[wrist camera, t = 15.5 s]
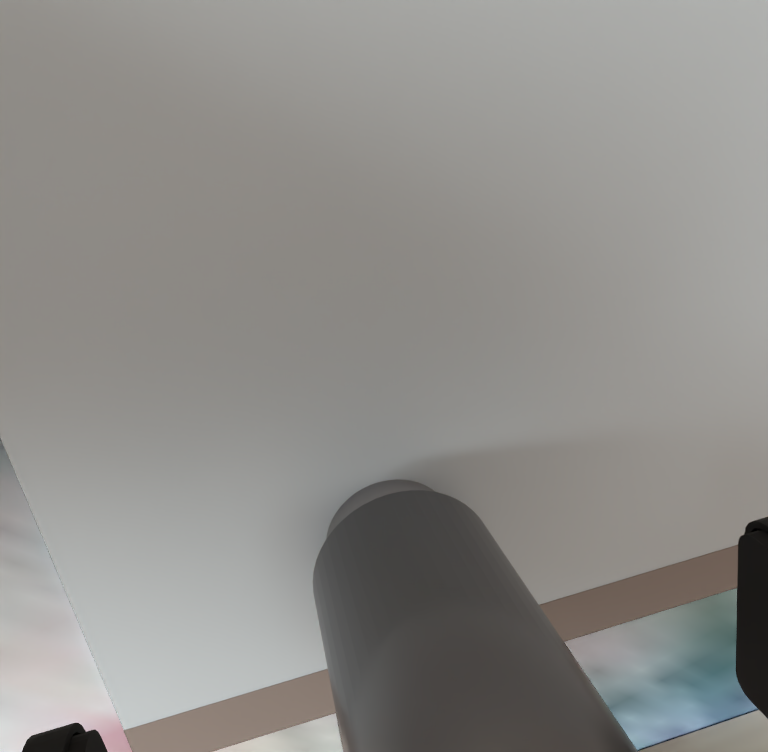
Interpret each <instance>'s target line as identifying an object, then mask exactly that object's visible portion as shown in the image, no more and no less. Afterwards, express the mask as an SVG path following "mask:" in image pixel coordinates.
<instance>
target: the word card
mask: <svg viewBox="0 0 768 752" xmlns="http://www.w3.org/2000/svg"><path fill="white" fill-rule="evenodd" d="M638 752H768V719H767V718H766V717H765V715H764V714H763V713H762V712H761V711H760V710H757V711H754V712H751V713H748V714H745V715H742V716H739V717H737V718H734V719H731V720H728V721H725V722H722V723H719V724H716V725H713V726H710V727H707V728H704V729H701V730H698V731H696V732H693V733H690V734H687V735H684V736H681V737H678V738H675V739H672V740H669V741H666V742H663V743H660V744H658V745H655V746H652V747H649V748H646V749H643V750H640V751H638Z"/></svg>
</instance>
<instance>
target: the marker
mask: <svg viewBox="0 0 768 752" xmlns="http://www.w3.org/2000/svg"><path fill="white" fill-rule="evenodd" d="M313 594H314V599H315V604H316V610H317V615H318V620H319V626H320V631H321V636H322V641H323V647H324V652H325V657H326V663H327V668H328V673H329V679H330V684H331V689H332V694H333V700H334V705H335V710H336V716H337V721H338V726H339V731H340V737H341V742H342V747H343V752H638V751H637V749H636V748H635V746H634V745H633V744H632V742H631V741H630V739H629V738H628V736H627V735H626V733H625V732H624V730H623V729H622V727H621V726H620V724H619V723H618V721H617V720H616V718H615V717H614V715H613V714H612V712H611V711H610V709H609V708H608V707H607V705H606V704H605V702H604V701H603V699H602V698H601V696H600V695H599V693H598V692H597V690H596V689H595V687H594V686H593V684H592V683H591V681H590V680H589V678H588V677H587V675H586V674H585V673H584V671H583V670H582V668H581V667H580V665H579V664H578V662H577V661H576V659H575V658H574V656H573V655H572V653H571V652H570V650H569V649H568V647H567V646H566V644H565V643H564V641H563V640H562V639H561V637H560V636H559V634H558V633H557V631H556V630H555V628H554V627H553V625H552V624H551V622H550V621H549V619H548V618H547V616H546V615H545V613H544V612H543V610H542V609H541V607H540V606H539V604H538V603H537V602H536V600H535V599H534V597H533V596H532V594H531V593H530V591H529V590H528V588H527V587H526V585H525V584H524V582H523V581H522V579H521V578H520V576H519V575H518V573H517V572H516V570H515V569H514V568H513V566H512V565H511V563H510V562H509V560H508V559H507V557H506V556H505V554H504V553H503V551H502V550H501V548H500V547H499V545H498V544H497V542H496V541H495V539H494V538H493V536H492V535H491V534H490V532H489V531H488V529H487V528H486V526H485V525H484V523H483V522H482V520H481V519H480V518H479V516H478V515H477V514H476V513H475V512H474V511H473V510H472V509H471V508H469V507H468V506H467V505H466V504H464V503H462V502H461V501H459V500H457V499H455V498H453V497H451V496H448V495H445V494H442V493H438V492H435V491H434V490H432V489H431V488H429V487H427V486H426V485H423V484H421V483H418V482H414V481H410V480H386V481H382V482H377V483H375V484H372V485H369V486H367V487H365V488H363V489H361V490H360V491H358V492H356V493H355V494H353V495H352V496H351V497H350V498H349V499H347V500H346V501H345V502H344V503H343V504H342V506H341V507H340V508H339V509H338V511H337V512H336V514H335V515H334V517H333V519H332V521H331V523H330V526H329V529H328V533H327V538H326V541H325V542H324V544H323V546H322V548H321V550H320V552H319V554H318V557H317V559H316V563H315V567H314V572H313Z"/></svg>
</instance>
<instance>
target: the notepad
mask: <svg viewBox="0 0 768 752" xmlns="http://www.w3.org/2000/svg"><path fill="white" fill-rule="evenodd" d="M0 438H1V441H2V443H3V445H4V448H5V450H6V452H7V455H8V457H9V460H10V462H11V464H12V467H13V469H14V471H15V474H16V476H17V479H18V481H19V483H20V486H21V488H22V490H23V493H24V495H25V497H26V500H27V502H28V505H29V507H30V509H31V512H32V514H33V516H34V519H35V521H36V523H37V526H38V528H39V531H40V533H41V535H42V538H43V540H44V542H45V545H46V547H47V549H48V552H49V554H50V557H51V559H52V561H53V564H54V566H55V568H56V571H57V573H58V575H59V578H60V580H61V583H62V585H63V587H64V590H65V592H66V594H67V597H68V599H69V602H70V604H71V606H72V609H73V611H74V613H75V616H76V618H77V620H78V623H79V625H80V628H81V630H82V632H83V635H84V637H85V639H86V642H87V644H88V646H89V649H90V651H91V654H92V656H93V658H94V661H95V663H96V665H97V668H98V670H99V672H100V675H101V677H102V680H103V682H104V684H105V687H106V689H107V691H108V694H109V696H110V699H111V701H112V703H113V706H114V708H115V710H116V713H117V715H118V717H119V720H120V722H121V725H122V727H123V729H124V733H125V735H126V737H127V740H128V742H129V745H130V747H131V749H132V752H212V751H215V750H219V749H222V748H225V747H228V746H231V745H235V744H238V743H241V742H244V741H247V740H251V739H254V738H257V737H260V736H263V735H267V734H270V733H273V732H276V731H279V730H283V729H286V728H289V727H292V726H295V725H299V724H302V723H305V722H308V721H311V720H315V719H318V718H321V717H324V716H327V715H331V714H334V713H336V710H335V705H334V700H333V694H332V689H331V684H330V679H329V673H328V668H327V663H326V657H325V652H324V647H323V641H322V636H321V631H320V626H319V620H318V615H317V610H316V604H315V599H314V594H313V572H314V567H315V563H316V559H317V557H318V554H319V552H320V550H321V548H322V546H323V544H324V542H325V541H326V538H327V533H328V529H329V526H330V523H331V521H332V519H333V517H334V515H335V514H336V512H337V511H338V509H339V508H340V507H341V506H342V504H343V503H344V502H345V501H346V500H347V499H349V498H350V497H351V496H352V495H353V494H355V493H356V492H358V491H360V490H361V489H363V488H365V487H367V486H369V485H372V484H375V483H377V482H382V481H386V480H410V481H414V482H418V483H421V484H423V485H426V486H427V487H429V488H431V489H432V490H434V491H435V492H438V493H442V494H445V495H448V496H451V497H453V498H455V499H457V500H459V501H461V502H462V503H464V504H466V505H467V506H468V507H469V508H471V509H472V510H473V511H474V512H475V513H476V514H477V515H478V516H479V518H480V519H481V520H482V522H483V523H484V525H485V526H486V528H487V529H488V531H489V532H490V534H491V535H492V536H493V538H494V539H495V541H496V542H497V544H498V545H499V547H500V548H501V550H502V551H503V553H504V554H505V556H506V557H507V559H508V560H509V562H510V563H511V565H512V566H513V568H514V569H515V570H516V572H517V573H518V575H519V576H520V578H521V579H522V581H523V582H524V584H525V585H526V587H527V588H528V590H529V591H530V593H531V594H532V596H533V597H534V599H535V600H536V602H537V603H538V604H539V606H540V607H541V609H542V610H543V612H544V613H545V615H546V616H547V618H548V619H549V621H550V622H551V624H552V625H553V627H554V628H555V630H556V631H557V633H558V634H559V636H560V637H561V639H562V640H563V641H564V642H565V641H568V640H571V639H574V638H577V637H581V636H584V635H587V634H590V633H593V632H597V631H600V630H603V629H606V628H609V627H613V626H616V625H619V624H622V623H626V622H629V621H632V620H635V619H638V618H642V617H645V616H648V615H651V614H654V613H658V612H661V611H664V610H667V609H670V608H674V607H677V606H680V605H683V604H686V603H690V602H693V601H696V600H699V599H702V598H706V597H709V596H712V595H715V594H718V593H722V592H725V591H728V590H731V589H734V588H737V577H738V541H739V538H740V537H741V536H742V535H744V533H745V527H746V526H747V524H748V523H750V522H752V521H755V520H758V519H761V518H765V517H768V0H0Z"/></svg>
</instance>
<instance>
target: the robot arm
mask: <svg viewBox="0 0 768 752" xmlns="http://www.w3.org/2000/svg"><path fill="white" fill-rule="evenodd" d="M736 675H737V678H738V682H739V684H740V686H741V688H742V690H743V691H744V693H745V694H746V696H747V697H748V698H749V699H750V700H751V702H752V703H753V704H754V705H755V706H756V707H757V708H758V709H759V710H760V711H761V712H762V713H763V714H764V715H765V717H766V718H767V719H768V517H765V518H761V519H758V520H755V521H752V522H750V523H748V524H747V526H746V527H745V533H744V535H742V536H741V537H740V538H739V541H738V577H737V639H736ZM22 752H107V749H106V747H105V745H104V743H103V740H102V738H101V736H100V734H99V732H98V731H96V730H91V731H88V732H85V730H84V728H83V727H82V725H80V724H79V723H73V724H70V725H66V726H63V727H60V728H56V729H53V730H50V731H46V732H43V733H39V734H36V735H33V736H31V737H30V738H29V739H28V740H27V741H26V744H25V746H24V748H23V751H22Z"/></svg>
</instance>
